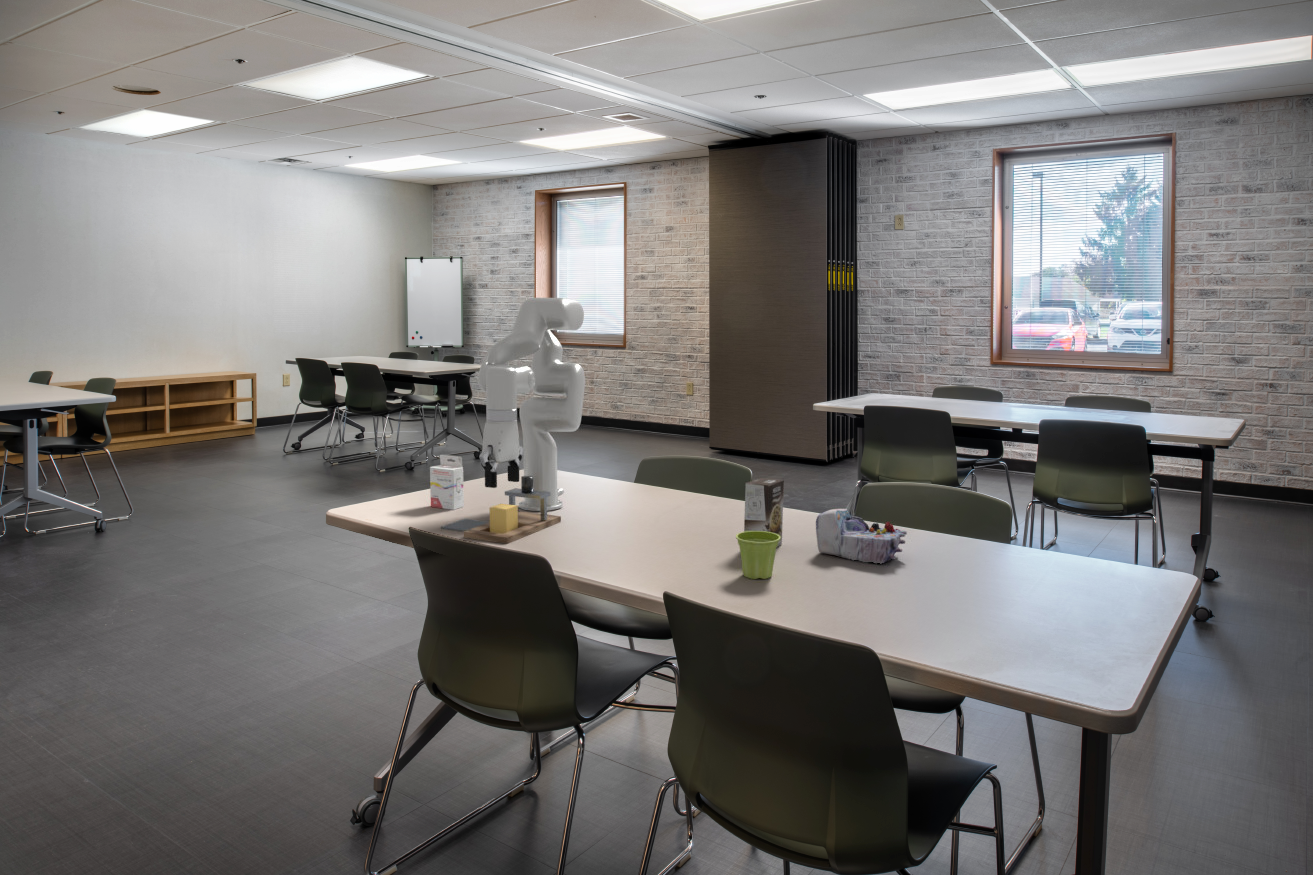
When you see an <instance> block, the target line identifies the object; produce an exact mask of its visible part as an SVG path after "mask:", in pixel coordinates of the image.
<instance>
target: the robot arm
mask: <svg viewBox="0 0 1313 875" xmlns="http://www.w3.org/2000/svg"><path fill="white" fill-rule="evenodd" d="M584 312H585V311H584V307H583V306H582V303H580V302H579V301H578V300H576V299H575V300H574V299H568V298H563V297H531V298H527V299H525V300H524V301H523V302H522V303H521V305H520V307H519V310H518V312H517V316H516V318H515V320H514V323H513V327H512V328H511V331H510V332H511V333H510V334H508V335H506V336H505V337H504V338H502V339H500V340H498V341H497V342H496V343H495V344H494V345H493V346H491V347H489V349H488V351H486V353H485V355H484V356H483V360H482V361H481V362H482V363H481V365H480V368H479V372H478V374H477V375H478V376H477V378H478V379H477V381H478V382H477V383H478V386H479V388H480V390H481V391H482V392H484V393H485V396H486V397H485V403H486V404H485V406H486V409H485V410H486V420H485V421H486V422H485V423H484V427H483V428H484V429H483V433H482V434H483V435H482V451H481V453H480V454H479V460H480V463H481V467H482V470H483V472H484V487H485V488H491V489H492V488H493V489H496V488H497V487H498V473H497V471H496V469H497V467H498V465H499V464H502V463H508V464H509V465H507V482H510V483H511V482H513V483H518V482H520V466H521V461H522V458H523V476H533V477H534V490H537V491H546V492H551V496H548V497H547V512H548V511H555V510H558V509H561V508H563V506H564V503H563V501H562V500H560V499H559V497H560V496H562V495H564V493H565V492H564V489H563V488H558V447H557V443H556V441H555V439H554V438H553V436H552V435H551V433H550V432H557V433H558V432H559V433H562V432H565V433H566V432H567V433H571V432H576V431H577V430H579V428H580V425H581V422H582V415H583V407H584V400H585V398H584V396H585V389H586V375H585V370H584V369H583V367H582V365H580V364H578V363H576V362H562V361H563V360H562V359H563V352H564V350H563V346H562V344H561V342H560V341H559V339H558V338H557V337H556V336H555V335H554V333H553V332H552V331H578V330H579V329H580V328H581V327H582V325H583V323H584V320H585V313H584ZM530 355H532V359H531V365H530V366H527V365H522V364H508V363H510V362H514V361H516V360H519V359H522V358H526V357H528V356H530ZM531 391H532V393H534V394H536V395H539V396H540V395H541V396H564V397H563V398H562V397H559V398H557V397H530V398H529V397H528V398H527V399H526V400H524V401H523V402H522V403H521V404H520V407H519V421H520V426H521V430H522V440H523V442H522V443H523V446H522V445H520V436H519V435H520V434H519V433H520V432H519V428H518V427H519V426H518V395H526V394H529V393H530V392H531ZM523 499H524V500H521V501H519V503H518V509H521V510H525V511H531V512H532V511H533V512H540V499H534V498H525V497H523Z"/></svg>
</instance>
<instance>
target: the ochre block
mask: <svg viewBox="0 0 1313 875" xmlns="http://www.w3.org/2000/svg"><path fill="white" fill-rule="evenodd" d="M518 509H519V505H516V504H515V505H509V503H508V504H507V503H499V504H496V505H494V506H493V505H492V506H490V507H489V522H490V532H492V533H500V534H504V533H507V532H509V531H512V530H514V529H517V528H518V512H519V510H518Z"/></svg>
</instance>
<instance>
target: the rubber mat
mask: <svg viewBox="0 0 1313 875" xmlns="http://www.w3.org/2000/svg"><path fill="white" fill-rule="evenodd" d="M489 522H490V521H486V520H478V519H472V518H471V519H469V518H463V519H460V520H457V521H453V522H451V523H448V524H445V525H442V526H440V529H443V530H451V531H458V532H464V531H467V530H470V529H472V528H475V527H478V526H481V525H483V524H486V523H489Z"/></svg>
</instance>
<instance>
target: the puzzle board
mask: <svg viewBox="0 0 1313 875" xmlns="http://www.w3.org/2000/svg"><path fill="white" fill-rule="evenodd" d="M488 522H489V523H486V524H483V525H481V526H478V527H475V528H472V529H470V530H467V531H462V532H463V538H464V539H471V540H477V541H478V540H479V541H485V542H493V543H501V544H510V543H513V542H515V541H518V540H520V539H522V538H525V537H528V536H530V535H532V534H534V533H536V532H540V531H542V530H545V529H547V528H549V527H551V526H553V525H557V524H559V523H561V522H562V516H560V515H554V514H547V520H541V513H536V512H527V511H518V528H517V529H514V530H512V531H509V532H507V533H504V534H500V533H492V532H490V521H488Z"/></svg>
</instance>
